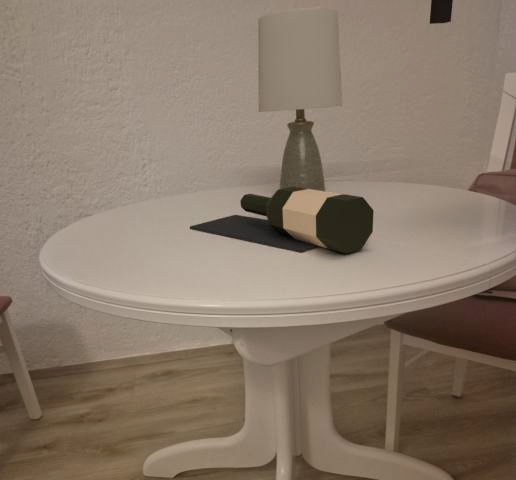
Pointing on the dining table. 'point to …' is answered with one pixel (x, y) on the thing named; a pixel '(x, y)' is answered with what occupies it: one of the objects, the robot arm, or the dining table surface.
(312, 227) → the wine bottle
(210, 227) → the mat
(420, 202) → the dining table surface
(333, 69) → the lamp
